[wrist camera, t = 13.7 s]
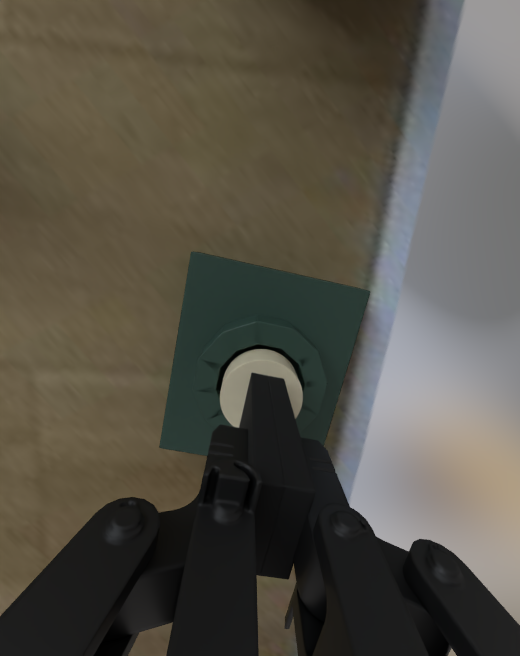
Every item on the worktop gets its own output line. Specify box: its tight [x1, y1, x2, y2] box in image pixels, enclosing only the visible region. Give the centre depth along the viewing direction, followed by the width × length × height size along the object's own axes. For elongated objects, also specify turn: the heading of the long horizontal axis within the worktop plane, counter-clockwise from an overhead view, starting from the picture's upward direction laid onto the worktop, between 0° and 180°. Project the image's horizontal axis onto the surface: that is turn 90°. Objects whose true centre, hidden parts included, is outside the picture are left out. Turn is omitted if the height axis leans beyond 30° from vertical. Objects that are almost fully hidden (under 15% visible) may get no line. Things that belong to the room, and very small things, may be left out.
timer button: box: [220, 349, 303, 428], centre depth 15 cm, size 4×4×2 cm
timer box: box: [159, 252, 370, 456], centre depth 17 cm, size 12×10×4 cm
